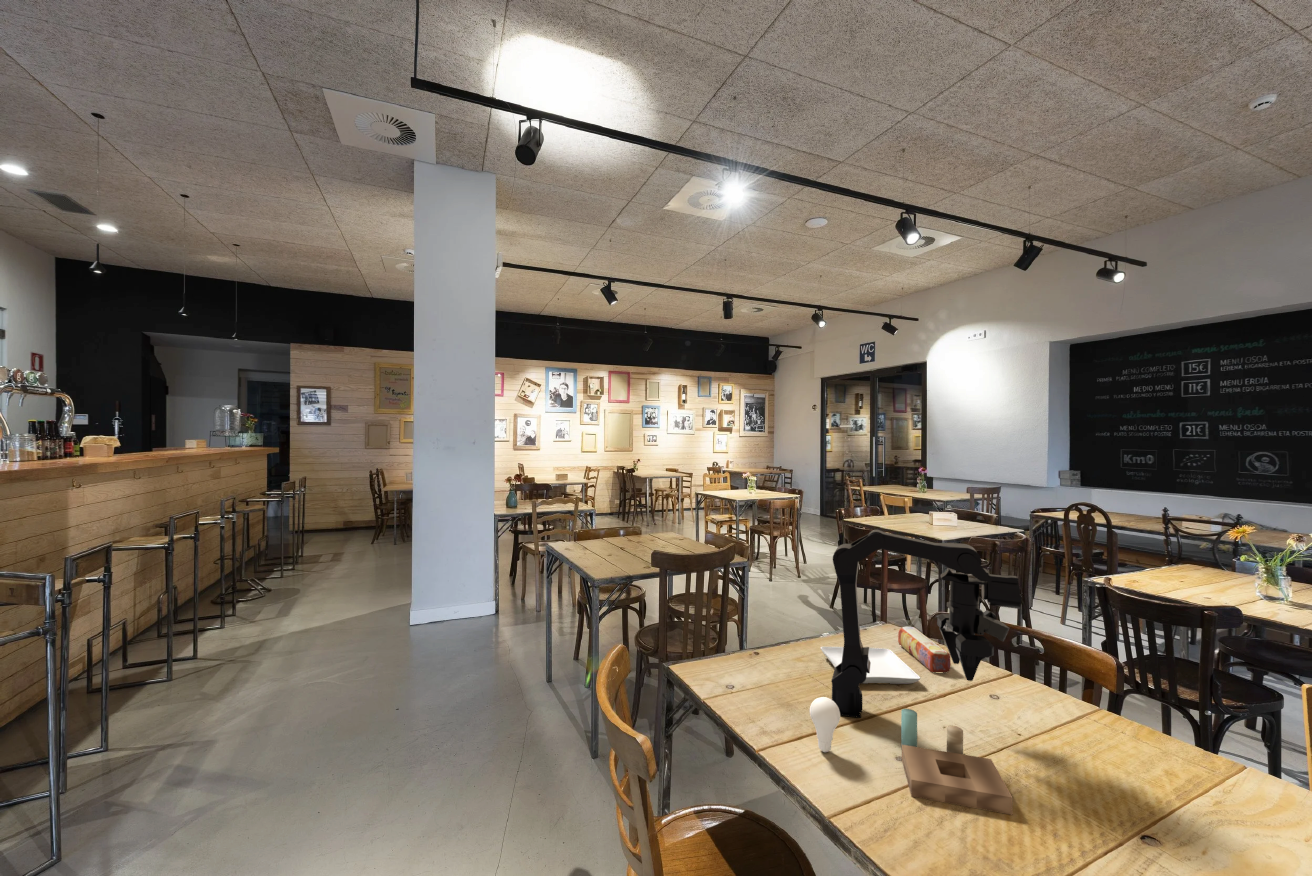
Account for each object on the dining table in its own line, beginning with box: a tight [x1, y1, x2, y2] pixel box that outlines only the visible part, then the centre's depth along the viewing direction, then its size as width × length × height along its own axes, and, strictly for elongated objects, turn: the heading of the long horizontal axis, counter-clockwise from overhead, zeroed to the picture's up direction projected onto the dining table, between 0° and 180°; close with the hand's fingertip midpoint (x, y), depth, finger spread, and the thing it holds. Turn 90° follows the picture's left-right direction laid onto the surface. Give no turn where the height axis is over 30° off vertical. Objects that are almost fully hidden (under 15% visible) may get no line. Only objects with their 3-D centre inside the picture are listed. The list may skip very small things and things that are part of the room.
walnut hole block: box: [901, 745, 1013, 816], centre depth 100 cm, size 16×12×3 cm
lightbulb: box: [809, 696, 841, 753], centre depth 111 cm, size 6×6×11 cm
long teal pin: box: [900, 708, 918, 751], centre depth 111 cm, size 3×3×8 cm
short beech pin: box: [946, 724, 964, 755], centre depth 111 cm, size 3×3×5 cm
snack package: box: [897, 626, 952, 674], centre depth 161 cm, size 21×7×7 cm, turn 179°
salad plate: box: [820, 646, 921, 685], centre depth 151 cm, size 21×21×3 cm
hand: (962, 671), depth 119 cm, fingers open, 9 cm apart
